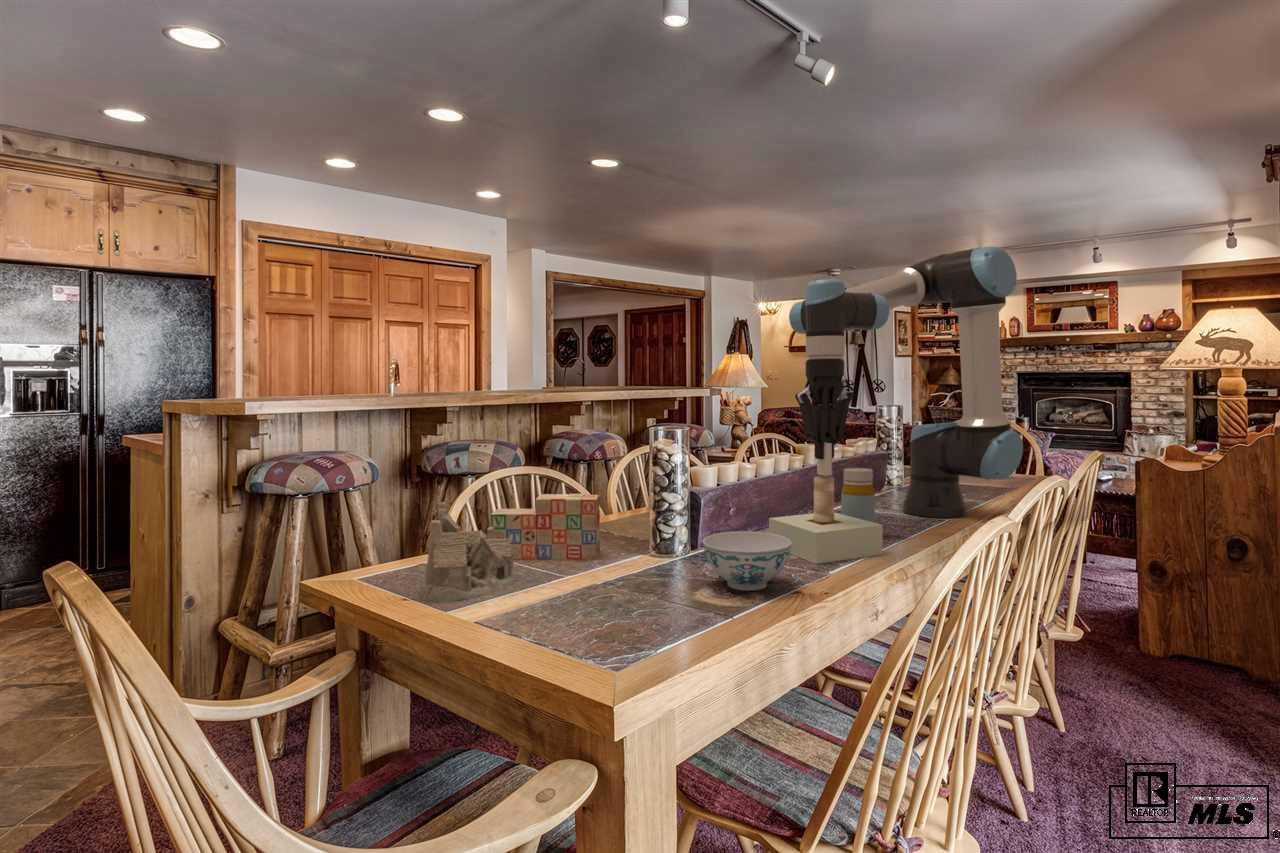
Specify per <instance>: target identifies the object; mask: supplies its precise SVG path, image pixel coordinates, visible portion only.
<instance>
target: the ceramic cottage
mask: <svg viewBox="0 0 1280 853" xmlns="http://www.w3.org/2000/svg"><path fill="white" fill-rule="evenodd" d="M437 507H438V510H437V517H438V519H436V520H431V522H430V530H429V536H428V539H427V541H428V543H427V544H428V546H427V547H428V551H427V552H428V554H427V555H428V556H427V561H426V563H425V569H424V576H422V578H420V583H421V586H420V591H419V598H420V600H421V601H424V602H429V603H430V602H431V603H447V602H455V601H456V602H458V600H459V601H461V600H463V601H464V600H470V599H472V598H477V597H478V596H482V595H486V594H489V593H492V592H495V591H497V590H502V589H505V588H509V587H511V586H513V585H514V584H515V575H514V574H513V571H512V570H513V569H514V566H513V565H514V564H515V562H514V560H515V559H514V557H513V553H512V551H511V541H510V539H508V538H507V539H495V530H494V527H491V526H489V527H487V530H486V531H487V533H485V532H483V531H482V530H469V531H465V530H464V531H462V527H461V526H460V525H458V523H456V521H454V519H453V517H452V516H451V515H450V513H448V509H447V506H446V503H445V501H442V502H438V504H437Z"/></svg>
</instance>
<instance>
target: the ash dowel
mask: <svg viewBox="0 0 1280 853" xmlns="http://www.w3.org/2000/svg"><path fill="white" fill-rule="evenodd" d="M834 512H835V477H834V476H824V475H820V476H818V475H817V476H814V477H813V513H814V520H813V523H816V524H820V525H827V524H834Z"/></svg>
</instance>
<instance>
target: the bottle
mask: <svg viewBox="0 0 1280 853" xmlns="http://www.w3.org/2000/svg"><path fill="white" fill-rule="evenodd" d="M873 480H874V470H873V468H872V469H871V468H865V467H848V468H847V467H846V468H844V469H843V485H842V487H841V493H840V494H841V495H840V496H841V498H840V499H841V503H840V505H841V507H840V509H841V510H840V514H843V515H846V516H850V517H854V518H858V519H862V520H866V521H870V522H873V523H876V522H875V521H876V520H875V518H876V516H875V515H876V514H875V510H876V509H875V508H876V507H875V506H876V505H875V504H876V502H875V501H876V500H875V498H876V492H875V488H874V485H873Z"/></svg>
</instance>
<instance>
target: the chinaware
mask: <svg viewBox="0 0 1280 853" xmlns="http://www.w3.org/2000/svg"><path fill="white" fill-rule="evenodd" d="M702 543H703V545H702V546H703V549H704V552H705V553H704V554H705V556H706V559H707V560H708V563H709V564H710V566H711V567H712V569H713V570H714V572H716V573H717V575H718V576H720V577H721V578H722V579H723V580H725V581H726V584H727V586H728V587H729V588H731V589H733V590H738V591H745V592H747V591H753V592H754V591H760V590H763V589H765V588H767V586H768V582H769V581H771V580H773V579H774V578H775V577H776V576H778V574H779V573H780V572H781V571H782V570H783V569H784V567H785V566H786V563H787V561H788V559H789V556H790V554H789V553H790V550H791V544H792V542H791V540H789V539H788V538H786V537H783V536H780V535H776V534H770V533H769V532H762V531H728V532H719V533H714V534H710V535H707V536H706V537H704V538H703V540H702Z"/></svg>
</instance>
